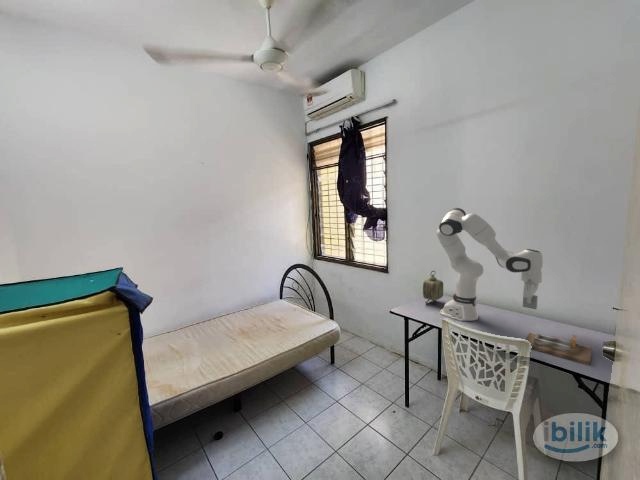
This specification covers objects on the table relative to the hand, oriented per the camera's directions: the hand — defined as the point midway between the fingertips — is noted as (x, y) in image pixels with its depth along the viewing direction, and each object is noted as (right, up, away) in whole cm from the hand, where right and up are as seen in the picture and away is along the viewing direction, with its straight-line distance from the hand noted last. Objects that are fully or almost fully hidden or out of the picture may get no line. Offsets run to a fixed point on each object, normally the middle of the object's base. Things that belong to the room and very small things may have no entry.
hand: (529, 301), depth 149 cm
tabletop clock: (-32, -13, +51) cm, 62 cm away
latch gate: (+7, -17, -18) cm, 26 cm away
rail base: (-1, -19, -18) cm, 26 cm away
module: (0, -3, 0) cm, 3 cm away
